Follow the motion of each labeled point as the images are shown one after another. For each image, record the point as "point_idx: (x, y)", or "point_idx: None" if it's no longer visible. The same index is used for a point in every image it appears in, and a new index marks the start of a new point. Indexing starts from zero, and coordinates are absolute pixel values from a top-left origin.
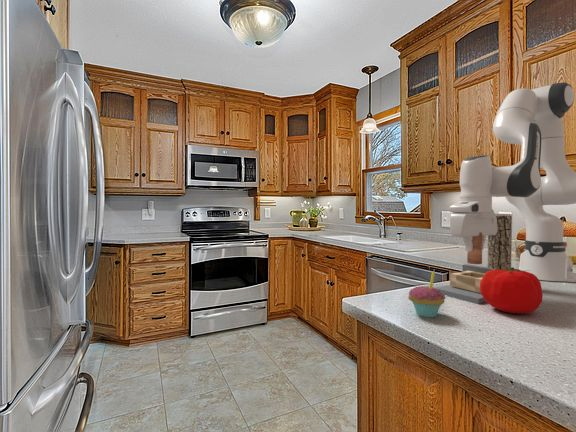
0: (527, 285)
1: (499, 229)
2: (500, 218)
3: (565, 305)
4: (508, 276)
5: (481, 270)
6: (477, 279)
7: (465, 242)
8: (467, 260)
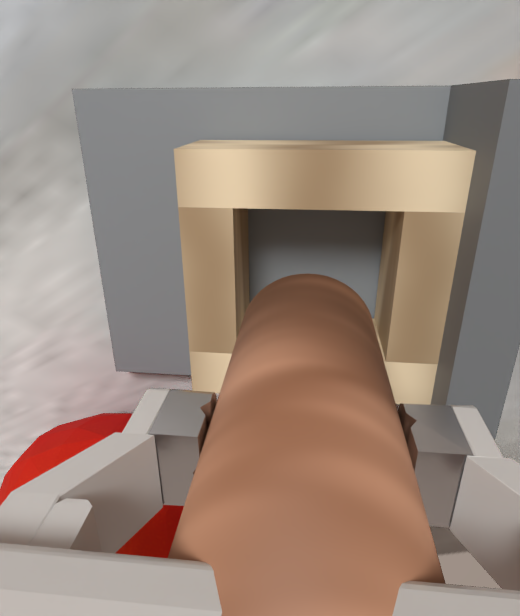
0: None
1: None
2: None
3: (438, 541)
4: None
5: (459, 285)
6: (191, 362)
7: (69, 476)
8: (259, 299)
